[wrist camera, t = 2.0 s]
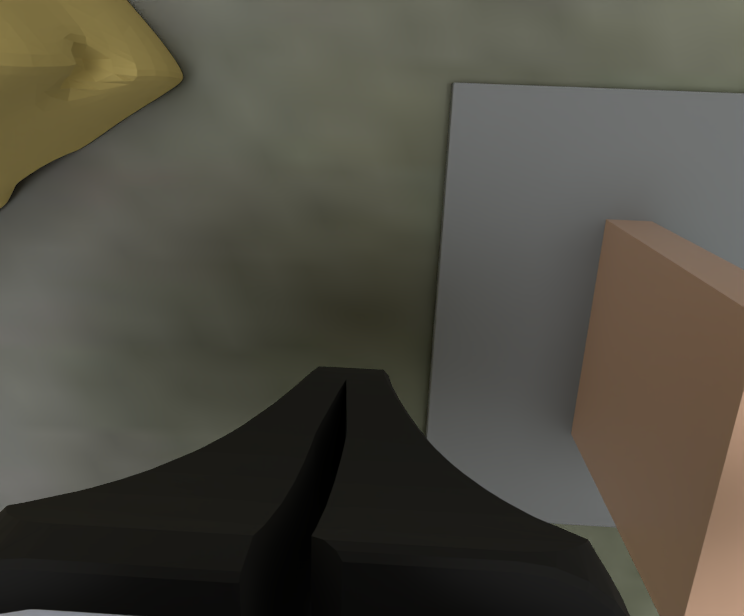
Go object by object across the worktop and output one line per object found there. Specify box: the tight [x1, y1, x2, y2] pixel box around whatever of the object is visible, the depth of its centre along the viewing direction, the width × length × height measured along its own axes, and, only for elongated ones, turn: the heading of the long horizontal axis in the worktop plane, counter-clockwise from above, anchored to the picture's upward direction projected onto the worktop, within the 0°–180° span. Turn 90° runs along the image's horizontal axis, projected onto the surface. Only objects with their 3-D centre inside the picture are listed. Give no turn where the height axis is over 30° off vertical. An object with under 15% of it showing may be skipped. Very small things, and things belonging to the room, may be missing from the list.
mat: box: [426, 83, 744, 527], centre depth 16 cm, size 12×13×1 cm
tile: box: [571, 219, 744, 616], centre depth 13 cm, size 6×1×7 cm, turn 178°
